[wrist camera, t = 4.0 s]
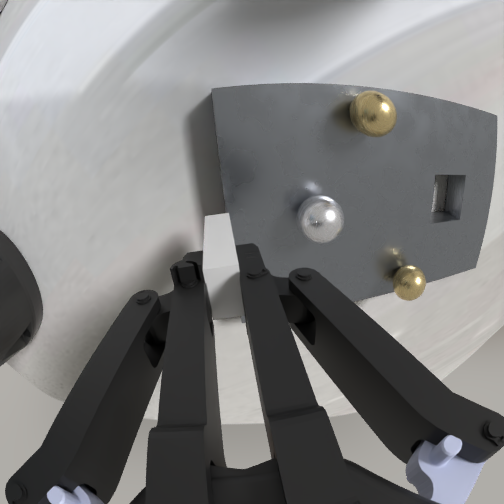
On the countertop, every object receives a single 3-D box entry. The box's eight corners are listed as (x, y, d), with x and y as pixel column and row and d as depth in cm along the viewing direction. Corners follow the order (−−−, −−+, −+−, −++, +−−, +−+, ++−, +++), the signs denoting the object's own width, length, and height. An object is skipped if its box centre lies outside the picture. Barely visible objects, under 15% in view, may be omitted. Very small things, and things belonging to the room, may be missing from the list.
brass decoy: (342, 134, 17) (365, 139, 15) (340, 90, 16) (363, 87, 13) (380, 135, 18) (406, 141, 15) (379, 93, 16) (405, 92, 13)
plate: (238, 305, 26) (241, 322, 23) (211, 92, 17) (211, 88, 15) (463, 258, 28) (475, 267, 26) (480, 112, 20) (497, 115, 17)
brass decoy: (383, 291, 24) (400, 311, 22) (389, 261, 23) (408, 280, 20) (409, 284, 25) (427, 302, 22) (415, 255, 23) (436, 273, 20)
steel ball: (291, 234, 20) (305, 255, 18) (289, 192, 19) (304, 206, 16) (332, 229, 21) (350, 248, 18) (332, 187, 19) (353, 201, 16)
